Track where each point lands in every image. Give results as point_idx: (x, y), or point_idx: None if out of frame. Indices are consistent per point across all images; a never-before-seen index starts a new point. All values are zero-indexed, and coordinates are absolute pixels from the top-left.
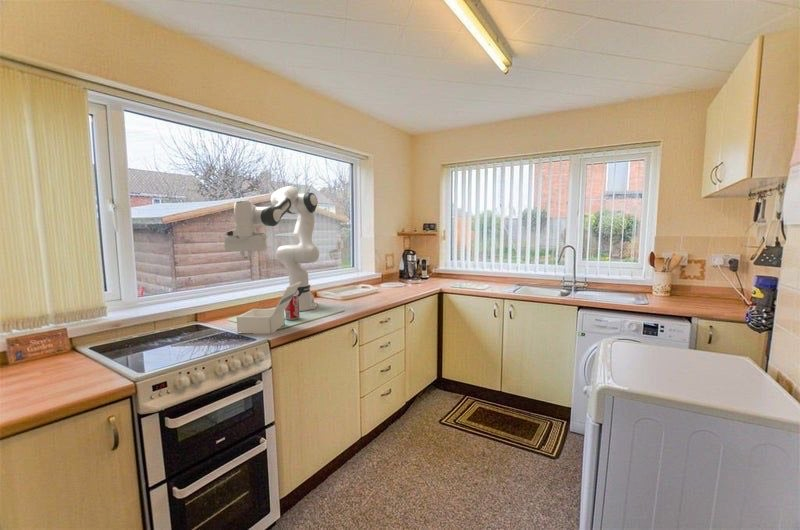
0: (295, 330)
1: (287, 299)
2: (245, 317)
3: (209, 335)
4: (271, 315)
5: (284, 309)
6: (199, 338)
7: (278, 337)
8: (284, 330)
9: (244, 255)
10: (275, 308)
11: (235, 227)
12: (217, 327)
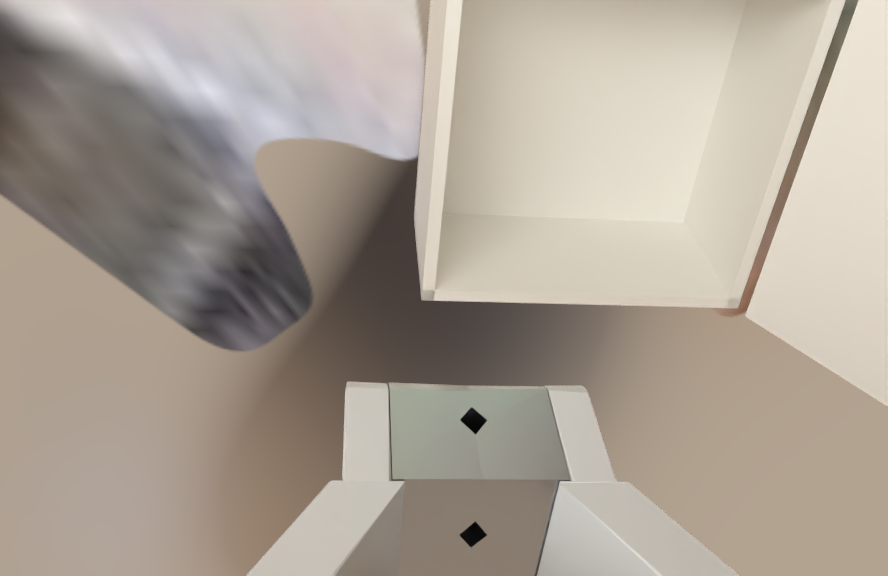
0: None
1: None
2: (505, 299)
3: (200, 252)
4: (755, 322)
5: (859, 16)
6: (173, 313)
7: None
8: None
9: (378, 571)
10: (824, 366)
11: None
12: (95, 23)
